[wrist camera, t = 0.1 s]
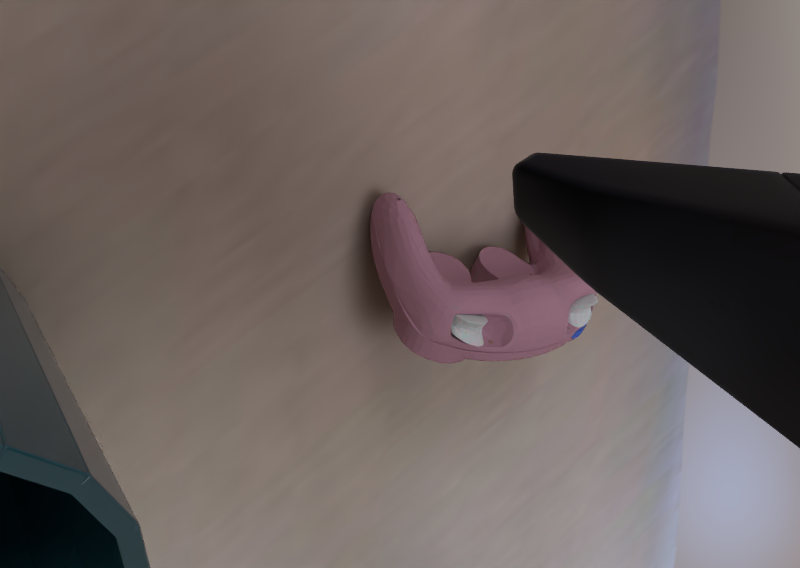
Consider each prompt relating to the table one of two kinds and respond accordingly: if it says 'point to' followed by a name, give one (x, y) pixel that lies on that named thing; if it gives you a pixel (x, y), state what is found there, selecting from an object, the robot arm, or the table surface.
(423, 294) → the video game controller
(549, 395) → the table surface
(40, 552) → the pen cup
